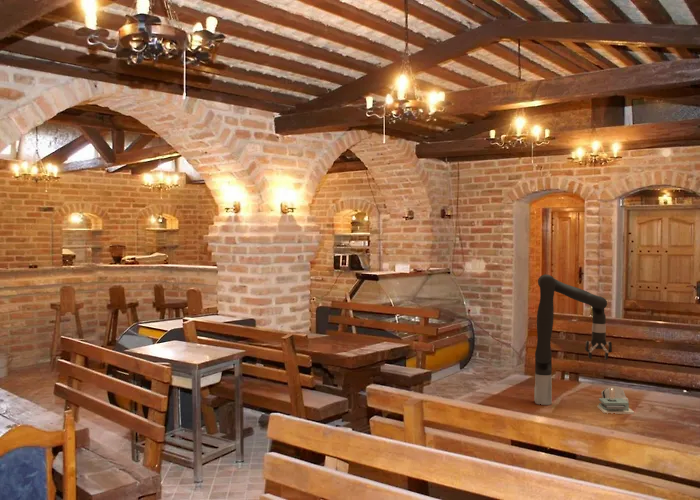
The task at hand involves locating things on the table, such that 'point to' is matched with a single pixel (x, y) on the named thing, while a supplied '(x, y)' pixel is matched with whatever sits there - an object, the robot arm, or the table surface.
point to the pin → (612, 394)
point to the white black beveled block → (618, 393)
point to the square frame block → (614, 406)
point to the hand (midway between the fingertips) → (598, 359)
